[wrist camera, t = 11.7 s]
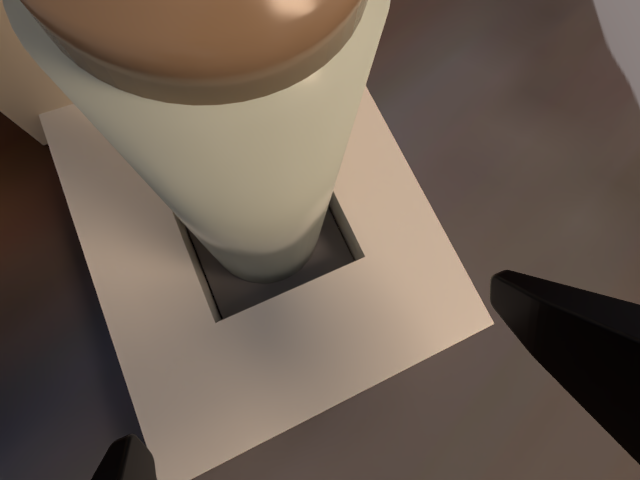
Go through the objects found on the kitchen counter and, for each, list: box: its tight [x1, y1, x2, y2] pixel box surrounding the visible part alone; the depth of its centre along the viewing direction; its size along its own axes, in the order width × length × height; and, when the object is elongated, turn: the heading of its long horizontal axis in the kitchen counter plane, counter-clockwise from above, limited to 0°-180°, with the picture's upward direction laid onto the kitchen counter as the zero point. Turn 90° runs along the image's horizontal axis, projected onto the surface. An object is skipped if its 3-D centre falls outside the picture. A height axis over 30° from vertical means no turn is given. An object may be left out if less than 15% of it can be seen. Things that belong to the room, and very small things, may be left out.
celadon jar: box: [2, 0, 390, 284], centre depth 11 cm, size 5×5×14 cm
